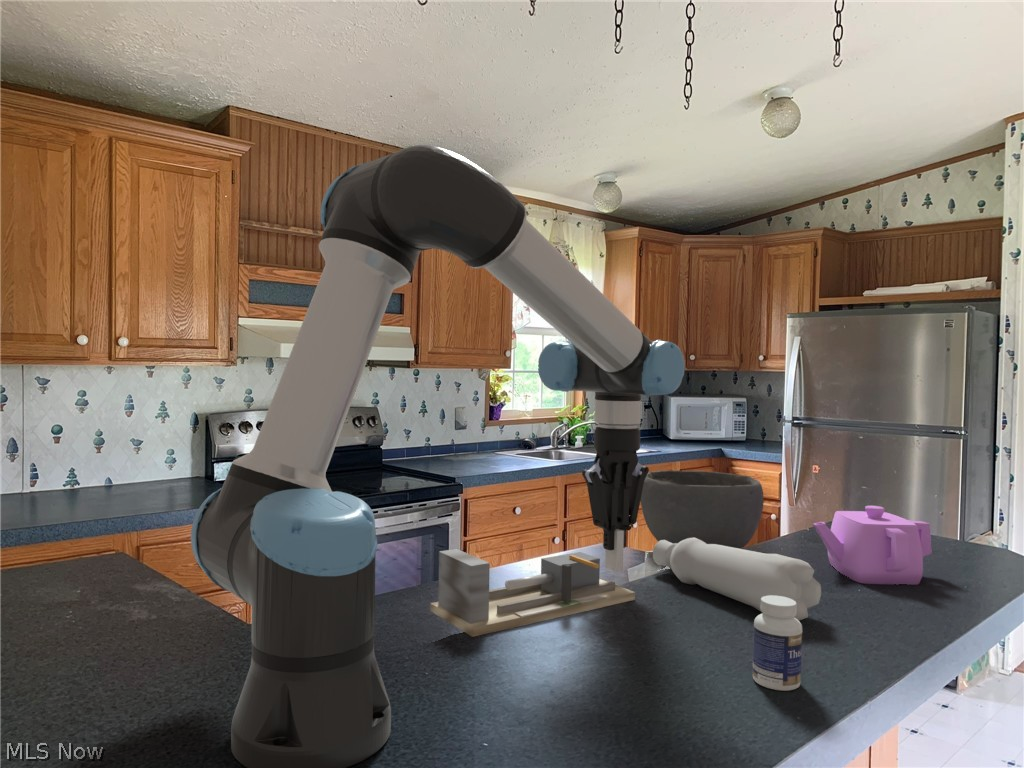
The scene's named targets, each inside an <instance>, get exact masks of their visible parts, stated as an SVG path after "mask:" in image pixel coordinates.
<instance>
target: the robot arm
mask: <svg viewBox="0 0 1024 768" xmlns="http://www.w3.org/2000/svg"><path fill="white" fill-rule="evenodd" d="M527 216H528V215H527V207H526V206H525V205H524V203H522V201H521V200H520V199H518V197H516V196H515V195H514V194H513V192H511V191H510V190H509V189H508V188H507V187H506V186H505V185H504V184H503V183H501V182H500V181H499V180H498V179H497V178H495V177H494V176H492V174H490V173H489V172H487V171H486V170H484V169H483V168H482V167H480V166H479V165H477V164H476V163H474V162H472V161H471V160H469V159H467V158H466V157H464V156H462V155H461V154H458V153H456V152H454V151H451V150H448V149H446V148H444V147H439V146H434V145H428V144H427V145H425V144H422V145H421V144H419V145H411V146H407V147H405V148H402V149H399V150H397V151H396V152H393V153H390V154H388V155H387V154H386V155H385V156H382V157H379V158H376V159H373V160H370V161H367V162H366V161H365V162H363V163H359V164H356V165H353V166H352V167H351V168H349V169H348V170H345V172H344V173H342V174H341V175H339V176H337V177H336V178H335V179H334V180H333V181H332V182H331V183H330V185H328V187H327V189H326V191H325V193H324V195H323V198H322V200H321V206H320V224H321V225H322V227H323V234H322V237H321V239H320V241H319V244H318V250H319V252H320V253H321V256H322V258H323V259H324V261H325V262H324V267H323V270H322V272H321V275H320V277H319V280H318V283H317V285H316V287H315V290H314V293H313V295H312V298H311V301H310V303H309V305H308V307H307V310H306V313H305V315H304V319H303V320H302V323H301V326H300V329H299V330H298V333H297V336H296V338H295V341H294V344H293V346H292V349H291V351H290V354H289V356H288V358H287V361H286V364H285V367H284V369H283V372H282V374H281V377H280V379H279V382H278V384H277V387H276V390H275V392H274V394H273V397H272V400H271V402H270V404H269V407H268V410H267V412H266V414H265V418H264V419H263V422H262V424H261V427H260V431H259V432H258V435H257V438H256V440H255V443H254V446H253V448H252V450H251V451H250V452H249V453H246V454H244V455H242V456H240V457H237V458H236V459H234V460H233V461H232V463H231V465H230V467H229V470H228V472H227V475H226V478H225V480H224V482H223V484H222V487H220V488H219V489H217V490H215V491H214V492H212V493H211V494H210V495H209V496H207V498H205V500H203V502H202V504H201V505H200V506H199V508H198V510H197V511H196V514H195V516H194V518H193V522H192V525H191V531H190V544H191V549H192V554H193V556H194V558H195V560H196V563H197V564H198V566H199V567H200V569H201V570H202V572H204V574H205V575H206V576H207V577H208V579H210V581H211V582H212V583H213V584H215V586H218V587H219V588H221V589H222V590H224V591H225V592H230V593H231V594H232V595H235V597H237V598H239V599H240V600H242V601H243V602H245V603H247V604H248V605H250V606H251V659H250V661H251V662H250V667H249V669H248V672H247V675H246V677H245V681H244V684H243V686H242V690H241V692H240V695H239V699H238V702H237V705H236V707H235V710H234V714H233V716H232V721H231V727H230V733H231V734H230V736H231V737H230V748H231V749H230V750H231V753H232V755H233V757H234V758H235V759H236V761H238V763H240V764H242V766H244V767H246V768H348V767H351V766H354V765H356V764H359V763H361V762H363V761H364V760H366V759H368V758H370V757H371V756H373V755H374V754H375V753H377V752H378V751H379V750H380V749H381V748H382V747H384V745H385V744H386V743H387V741H388V739H389V738H390V735H391V730H392V729H391V728H392V727H391V725H392V722H391V721H392V707H391V703H390V699H389V695H388V693H387V689H386V687H385V684H384V680H383V678H382V675H381V674H382V673H381V671H380V668H379V665H378V662H377V658H376V656H375V617H376V616H375V614H376V613H375V612H376V611H375V606H376V605H375V603H376V556H377V552H378V551H377V550H378V538H377V531H376V530H377V529H376V519H375V514H374V512H373V510H372V508H371V507H370V506H369V504H368V503H366V502H365V501H364V500H363V499H362V498H359V497H358V496H355V495H353V494H350V493H347V492H343V491H338V490H337V491H333V490H332V489H331V486H330V485H329V482H328V480H327V477H326V476H327V475H326V474H327V473H326V472H327V470H328V467H329V465H330V462H331V459H332V458H333V454H334V451H335V448H336V446H337V443H338V440H339V437H340V435H341V432H342V429H343V426H344V424H345V421H346V419H347V416H348V413H349V411H350V408H351V405H352V403H353V400H354V398H355V397H354V396H355V395H356V392H357V389H358V386H359V383H360V381H361V378H362V375H363V373H364V370H365V367H366V364H367V361H368V358H369V357H370V354H371V350H372V348H373V346H374V344H375V343H374V342H375V340H376V337H377V334H378V332H379V329H380V327H381V324H382V321H383V318H384V315H385V313H386V310H387V307H388V305H389V302H390V300H391V296H392V294H393V291H394V290H396V289H397V288H401V287H402V286H404V285H407V284H408V283H409V282H410V281H411V278H412V275H413V272H414V270H415V268H416V265H417V262H418V259H419V257H420V254H421V252H423V251H427V250H431V249H434V250H440V251H444V252H447V253H450V254H453V255H454V256H456V257H457V258H459V259H460V260H461V261H463V262H464V263H465V264H466V265H467V266H468V267H470V268H472V269H476V270H477V269H483V268H484V269H485V270H486V271H487V272H488V273H489V274H491V275H492V277H494V278H495V279H497V280H498V281H499V283H501V284H502V285H504V286H505V288H507V289H508V290H509V291H511V292H512V293H513V294H514V295H515V296H517V298H518V299H520V300H521V301H522V302H523V303H525V304H526V305H527V306H528V307H529V308H530V309H531V310H533V311H534V312H535V313H536V314H537V315H539V316H540V318H542V319H543V320H544V321H545V322H547V324H549V325H550V326H551V327H552V328H554V329H555V331H557V332H558V333H559V334H560V335H561V336H563V337H564V338H565V339H566V341H565V340H562V341H554V342H553V341H552V342H550V343H548V344H547V345H546V346H545V347H543V349H542V351H541V352H540V354H539V357H538V365H537V367H538V369H537V372H538V375H539V378H540V381H541V382H542V384H543V385H544V386H545V387H546V388H547V389H549V390H551V391H557V392H558V391H559V392H563V393H564V392H566V393H568V392H589V393H591V392H592V393H593V392H594V423H595V424H597V426H596V427H595V428H594V429H593V433H594V435H593V447H594V449H595V450H596V451H595V453H596V455H595V457H594V460H593V465H592V466H591V467H590V468H589V469H583V470H582V472H581V474H582V477H583V479H584V481H585V483H586V487H587V492H588V499H589V500H588V501H589V504H590V511H591V516H592V517H591V518H592V523H593V525H594V526H595V527H599V528H601V529H602V531H603V534H602V535H603V542H602V546H603V549H604V550H605V554H604V555H605V556H604V561H605V562H604V563H605V564H604V567H605V568H606V569H609V570H612V571H614V572H619V571H623V570H624V549H626V545H627V531H631V530H632V527H633V526H632V525H636V524H637V519H638V515H639V509H640V506H641V502H640V500H641V495H642V490H643V485H644V480H645V478H646V476H647V474H648V473H649V472H650V469H649V467H648V466H646V465H645V466H644V465H642V464H641V463H640V462H639V457H638V454H637V451H639V450H640V448H641V429H640V428H639V427H638V426H639V425H640V424H641V422H642V419H641V418H642V417H641V416H642V413H641V412H642V396H643V395H645V396H647V397H651V396H659V395H660V396H663V395H665V396H666V395H669V394H670V395H671V394H673V393H674V392H675V391H676V390H678V388H679V387H680V386H681V384H682V381H683V378H684V376H685V365H686V363H685V358H684V355H683V352H682V349H680V347H679V346H678V345H677V344H675V343H674V342H671V341H666V340H662V339H656V340H652V339H649V337H648V336H647V335H646V334H644V332H643V331H641V330H640V329H639V327H637V326H636V324H634V323H633V322H632V321H631V320H630V319H629V318H628V317H627V316H626V315H625V314H624V312H622V311H621V310H620V309H619V308H618V307H617V306H616V305H614V303H612V301H611V300H610V299H609V298H608V297H606V295H604V294H603V292H602V291H600V290H599V288H597V287H596V286H595V284H593V283H592V282H591V281H590V280H589V279H588V278H587V277H586V276H585V275H584V274H583V273H582V272H581V271H580V270H579V269H578V268H577V267H576V266H575V265H574V264H573V263H572V262H571V261H570V260H569V259H568V258H566V257H565V256H564V254H562V253H561V251H559V250H558V249H557V248H556V246H554V245H553V244H552V243H551V242H550V241H549V240H548V239H547V238H546V237H545V236H544V235H543V234H542V233H541V232H540V231H539V230H538V229H537V228H536V227H535V226H534V225H533V224H532V223H531V222H530V221H529V220H528V219H527Z"/></svg>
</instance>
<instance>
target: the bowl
mask: <svg viewBox="0 0 1024 768" xmlns="http://www.w3.org/2000/svg"><path fill="white" fill-rule="evenodd" d="M763 490H764V489H763V486H762V484H761V483H760V481H759V480H758V479H755V478H753V477H751V476H750V475H744V474H743V475H742V474H734V473H727V472H717V471H707V470H705V471H704V470H661V469H660V470H655V471H649V472H648V474H647V476H646V478H645V480H644V485H643V490H642V495H641V500H640V506H641V512H642V514H643V515H642V516H643V518H644V520H645V523H646V527H647V528H648V530H649V531H650V533H651V535H652V536H653V537H654V539H655V540H656V541H657V542H659V541H660V540H666V541H668V542H671V543H673V544H674V543H677V544H678V543H679V542H680V541H682V540H685V539H687V538H693V537H695V538H697V539H699V540H701V541H703V542H705V543H706V544H717V545H723V546H728V547H733V548H739V549H743V548H744V547H746V545H748V544H749V542H750V541H751V540H752V539H753V537H754V536H755V533H756V531H757V530H758V527H759V526H760V525H759V524H760V521H761V518H762V514H763V510H764V503H765V502H764V491H763Z"/></svg>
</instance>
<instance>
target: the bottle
mask: <svg viewBox="0 0 1024 768" xmlns="http://www.w3.org/2000/svg"><path fill="white" fill-rule="evenodd" d="M652 559H653V561H654V562H655V563H656V565H658V566H663V567H668V569H669V568H670V569H671V571H672V573H674V575H675V576H676V577H677V579H678V580H679V581H680V582H681V583H684V584H686V585H696V584H697V585H699V586H700V587H702V588H704V589H707V590H710V591H711V592H714V593H716V594H719V595H721V596H725V597H728V598H729V599H733V600H735V601H738V602H739V603H743V604H745V605H748V606H750V607H752V608H755V609H756V610H758V611H759V612H761V613H763V612H762V611H761V609H760V605H761V598H762V597H764V596H769V595H775V596H783V597H787V598H790V599H792V600H794V601H796V603H797V613H796V616H794V618H796V619H797V620H798V621H799V622H800V621H801V620H804V619H807V618H809V613H808V609H809V608H812V607H814V606H817V605H819V603H820V600H821V596H822V585H821V583H819V581H817V579H815V577H813V576H814V574H815V570H814V568H813V567H812V565H810V563H809V562H807V561H805V560H802V559H799V558H796V557H795V558H793V557H789V556H786V555H782V554H779V553H763V552H760V551H754V550H748V549H743V548H742V549H739V548H733V547H728V546H723V545H717V544H706V543H705V542H703V541H701V540H699V539H697V538H695V537H693V538H687V539H685V540H682V541H680V542H679V543H678V544H677V543H674V544H673V543H671V542H668V541H666V540H660V541H659V542H658V541H657V542H656V543H655V545H654V547H653V550H652Z"/></svg>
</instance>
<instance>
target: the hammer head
mask: <svg viewBox="0 0 1024 768" xmlns="http://www.w3.org/2000/svg"><path fill="white" fill-rule="evenodd" d="M571 569H572V566H571V565H568V564H563V565H562V601H564V602H566V603H568V602H571Z"/></svg>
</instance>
